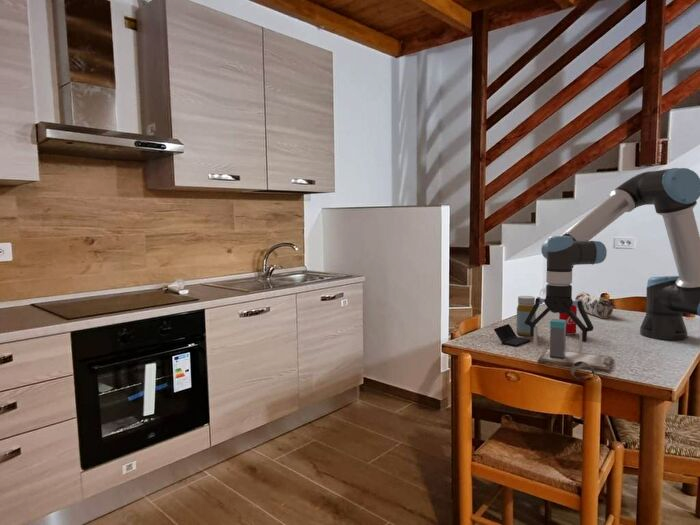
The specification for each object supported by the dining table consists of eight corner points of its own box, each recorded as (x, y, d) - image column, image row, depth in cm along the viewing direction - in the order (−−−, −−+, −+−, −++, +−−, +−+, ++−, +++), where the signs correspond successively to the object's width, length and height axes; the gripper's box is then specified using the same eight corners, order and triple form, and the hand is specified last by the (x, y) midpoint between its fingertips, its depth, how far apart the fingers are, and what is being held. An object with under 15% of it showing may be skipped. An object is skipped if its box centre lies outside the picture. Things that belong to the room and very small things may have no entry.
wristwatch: (569, 376, 135) (569, 359, 135) (591, 376, 134) (591, 360, 134) (574, 380, 132) (574, 363, 131) (596, 380, 131) (597, 363, 131)
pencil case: (614, 318, 209) (615, 297, 208) (595, 319, 209) (596, 297, 208) (589, 309, 230) (590, 290, 230) (572, 309, 230) (573, 290, 230)
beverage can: (578, 335, 181) (578, 305, 179) (561, 335, 182) (561, 305, 181) (573, 331, 187) (574, 302, 186) (557, 331, 188) (557, 302, 187)
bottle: (535, 332, 186) (536, 296, 184) (534, 337, 180) (535, 298, 178) (517, 331, 189) (517, 295, 187) (515, 335, 182) (516, 298, 181)
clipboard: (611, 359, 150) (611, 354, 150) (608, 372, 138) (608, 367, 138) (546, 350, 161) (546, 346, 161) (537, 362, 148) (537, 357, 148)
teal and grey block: (565, 356, 151) (566, 320, 150) (563, 359, 148) (564, 322, 147) (551, 354, 153) (552, 318, 152) (549, 357, 150) (550, 321, 149)
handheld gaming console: (522, 343, 165) (507, 319, 169) (506, 353, 169) (491, 329, 173) (532, 341, 174) (517, 318, 178) (516, 350, 178) (502, 328, 182)
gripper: (604, 284, 145) (602, 351, 147) (521, 280, 158) (520, 341, 160) (602, 288, 138) (600, 357, 140) (516, 283, 152) (515, 346, 154)
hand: (557, 348), depth 150 cm, fingers open, 13 cm apart
